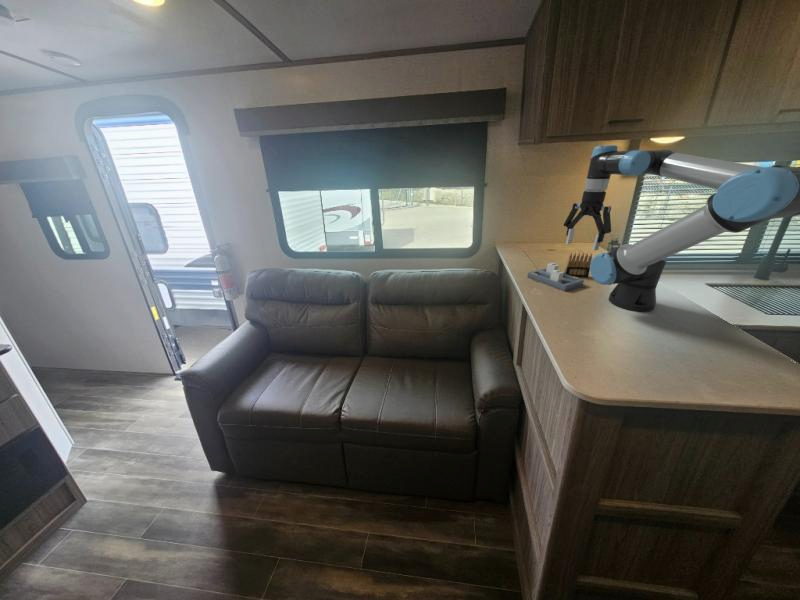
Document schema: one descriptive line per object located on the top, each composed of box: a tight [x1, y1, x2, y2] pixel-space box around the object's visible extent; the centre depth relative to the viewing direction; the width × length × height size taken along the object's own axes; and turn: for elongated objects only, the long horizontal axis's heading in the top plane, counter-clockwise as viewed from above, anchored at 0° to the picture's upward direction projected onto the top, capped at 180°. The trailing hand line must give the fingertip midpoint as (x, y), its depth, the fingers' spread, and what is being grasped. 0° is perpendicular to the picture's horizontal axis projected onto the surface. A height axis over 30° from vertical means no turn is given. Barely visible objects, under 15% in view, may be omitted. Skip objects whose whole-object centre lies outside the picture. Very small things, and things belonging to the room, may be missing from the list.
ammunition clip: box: [564, 252, 593, 278], centre depth 146 cm, size 11×2×12 cm, turn 79°
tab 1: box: [546, 262, 560, 273], centre depth 146 cm, size 4×3×6 cm
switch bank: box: [527, 267, 585, 292], centre depth 143 cm, size 20×13×3 cm, turn 28°
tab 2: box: [550, 269, 565, 283], centre depth 138 cm, size 4×3×6 cm
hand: (581, 246), depth 124 cm, fingers open, 11 cm apart
